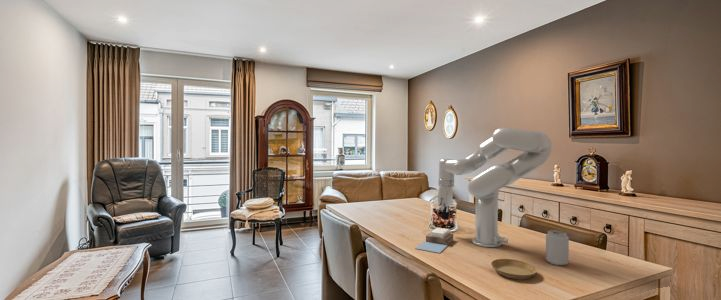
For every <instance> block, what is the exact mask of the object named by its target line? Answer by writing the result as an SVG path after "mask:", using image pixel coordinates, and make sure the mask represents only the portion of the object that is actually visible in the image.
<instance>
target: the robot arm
mask: <svg viewBox="0 0 721 300" xmlns="http://www.w3.org/2000/svg"><path fill="white" fill-rule="evenodd" d="M552 148H553V147H552V140H551V138H550V137H549V135H548V134H546V133H545V132H541V131H534V130H533V131H532V130H525V129H517V128H512V127H503V126H502V127H499V128H497V129H496V130H494V132H493V133H492V136H491V137H489V138H488V139H486V140H484V141H483V142H481V143H480V144H479V145H478V149H477V150H476V151H475V152H473V153H472V154H471V155H469V156H467V157H466V158H461V159H451V158H441V159H440V160H439V163H438V195H437V206H439V207H440V210H441V220H445V221H448V220H450V208H451V207H450V206H451V205H452V204H453V197H454V196H453V195H454V194H453V191H454V190H453V188H454V187H455V175H456V176H463V175H468V174H470V173H472V172H475V171H477V170H478V169H479V168H481V167H483V166H484V165H486V164H487V163H489V162H490V161H491V160H493V159H494V158H496V157H497V156H499V155H501V154H502V153H504V152H505V151H506V152H507V151H508V150H515V151H520V152H522V153H521V154H519V155H516V157H513V158H512V159H511V160H509V161H506V162H503V163H498V164H496V165H492V166H491V167H490V168H488V169H486V170H484V171H483V172H481V173H479V174H477V175H476V176H475V177H473V178H471V180H470V181H469V182H468V185H467V189H468V190H467V191H468V193H469V194H470V195H471V196H472V197H474V198H475V237H473V238H471V242H472V243H473V244H474V245H476V246H479V247H483V248H484V247H485V248H498V247H499V248H500V247H501V246H502V243H505V244H508V243H509V239H508V238H507V237H502V236H501V235H500V233H499V232H498V228H499V227H498V226H499V225H498V221H499V220H498V214H499V213H498V212H499V211H498V209H499V203H498V202H499V193H500V190H501V189H503V188H505V187H507V186H510V185H512V184H514V183H515V182H517V181H518V180H520V179H521V178H523V177H525V176H528V175H529V174H530V173H532V172H534V171H535V170H537V169H539V168H540V167H542V166H543V165H544V164H545V163H546V162H547V160H548V159H549V158H550V155H551V154H552Z"/></svg>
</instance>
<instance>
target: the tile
mask: <svg viewBox="0 0 721 300" xmlns="http://www.w3.org/2000/svg"><path fill="white" fill-rule="evenodd" d="M430 233H431V236H433V237H440V238H444V237H445V236H446V235H448V234H449V233H450V229H449V228H444V227H443V228H442V227H436V228H434V229H433V230H431V231H430Z"/></svg>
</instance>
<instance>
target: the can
mask: <svg viewBox="0 0 721 300" xmlns="http://www.w3.org/2000/svg"><path fill="white" fill-rule="evenodd" d="M569 245H570V238H569V236H568V233H567V232H565V231H560V230H554V229H553V230H548V231H547V233H546V234H545V260H546V261H547V262H548V263H549V262H550V263H549V264H551V263H552V264H551V265H553V264H555V265H554V266H558V265H564V266H566V265H568V264H569V263H570V262H569V261H570V257H569V255H570V254H569V251H570V247H569Z"/></svg>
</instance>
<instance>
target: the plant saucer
mask: <svg viewBox="0 0 721 300" xmlns="http://www.w3.org/2000/svg"><path fill="white" fill-rule="evenodd" d="M490 265H491V266H492V269H493V270H494V271H496V273H498V274H499V275H500V276H503V277H504V278H508V279H512V280H528V279H529V278H532V276H534V275H535V274H536V273H537V272H538V269H537V268H536V266H534V265H532V264H531V263H529V262H525V261H522V260H517V259H513V258H499V259H494V260H492V261H491V262H490Z"/></svg>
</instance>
